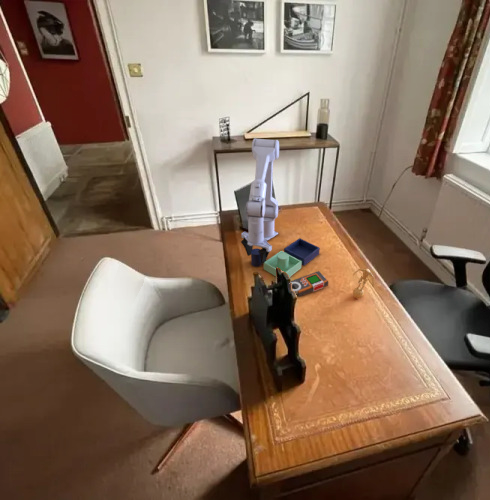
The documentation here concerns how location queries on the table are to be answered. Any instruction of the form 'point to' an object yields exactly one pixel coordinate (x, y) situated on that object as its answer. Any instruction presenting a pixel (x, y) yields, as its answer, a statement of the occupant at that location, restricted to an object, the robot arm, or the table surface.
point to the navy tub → (302, 251)
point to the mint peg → (283, 261)
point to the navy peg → (255, 258)
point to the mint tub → (292, 265)
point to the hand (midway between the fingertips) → (256, 258)
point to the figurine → (358, 291)
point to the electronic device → (309, 283)
